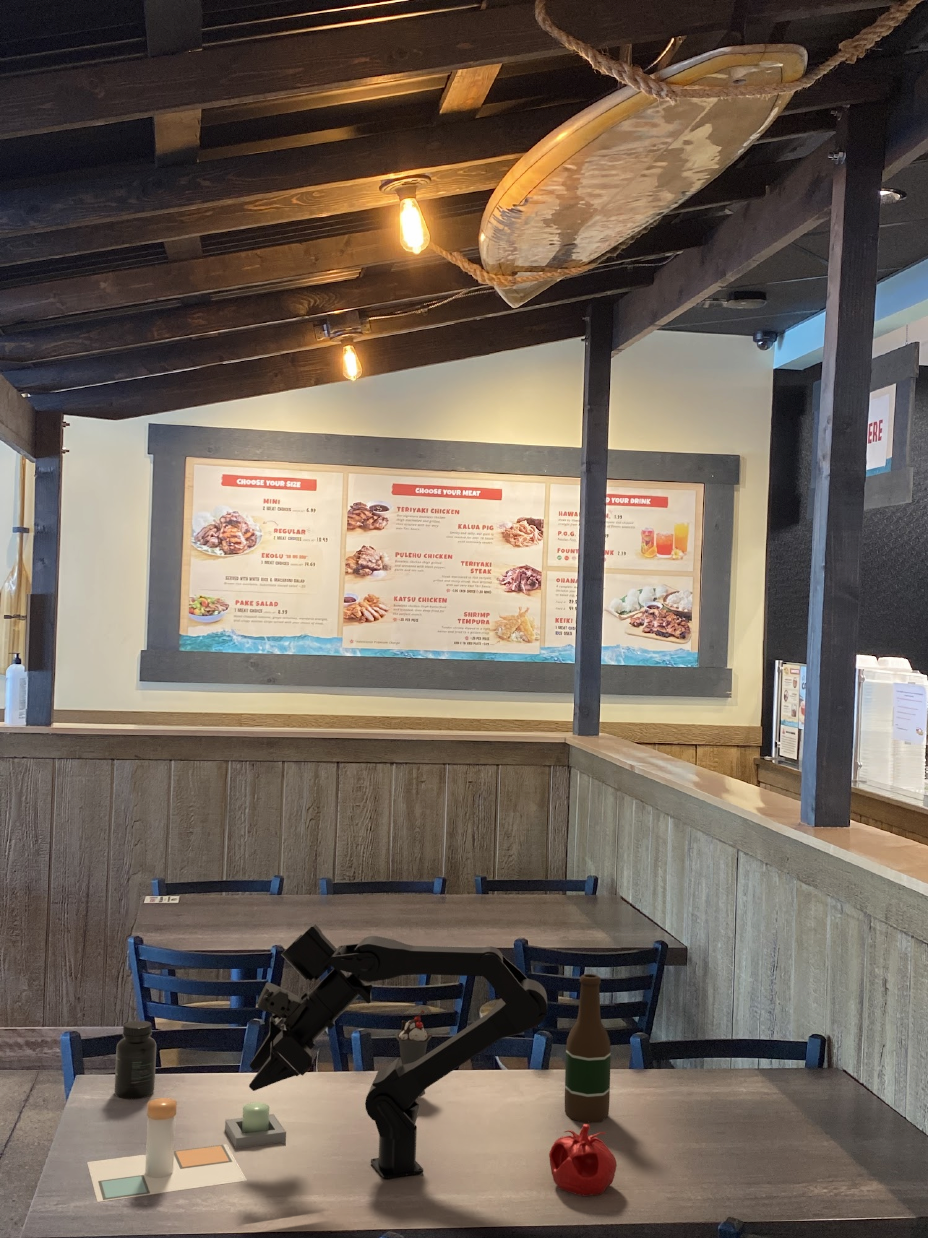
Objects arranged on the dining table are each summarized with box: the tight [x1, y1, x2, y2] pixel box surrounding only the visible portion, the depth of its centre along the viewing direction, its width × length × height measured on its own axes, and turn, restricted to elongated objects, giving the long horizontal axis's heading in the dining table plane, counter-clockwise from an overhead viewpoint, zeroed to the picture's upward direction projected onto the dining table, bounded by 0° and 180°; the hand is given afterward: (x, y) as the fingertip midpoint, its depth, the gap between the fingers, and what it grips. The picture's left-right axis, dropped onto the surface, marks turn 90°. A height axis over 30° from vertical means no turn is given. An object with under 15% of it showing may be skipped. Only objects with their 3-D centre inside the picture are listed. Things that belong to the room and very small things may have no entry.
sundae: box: [395, 1009, 433, 1097], centre depth 211 cm, size 7×7×15 cm
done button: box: [242, 1102, 270, 1134], centre depth 187 cm, size 4×4×4 cm
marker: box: [145, 1097, 178, 1178], centre depth 172 cm, size 4×4×10 cm
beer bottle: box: [564, 973, 612, 1124], centre depth 203 cm, size 8×8×24 cm
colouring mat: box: [86, 1143, 248, 1203], centre depth 172 cm, size 14×21×1 cm, turn 113°
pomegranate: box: [548, 1123, 618, 1197], centre depth 174 cm, size 10×10×9 cm
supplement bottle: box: [114, 1020, 157, 1100], centre depth 206 cm, size 7×7×12 cm
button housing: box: [224, 1113, 287, 1149], centre depth 186 cm, size 8×8×2 cm
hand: (251, 1078), depth 177 cm, fingers open, 9 cm apart
